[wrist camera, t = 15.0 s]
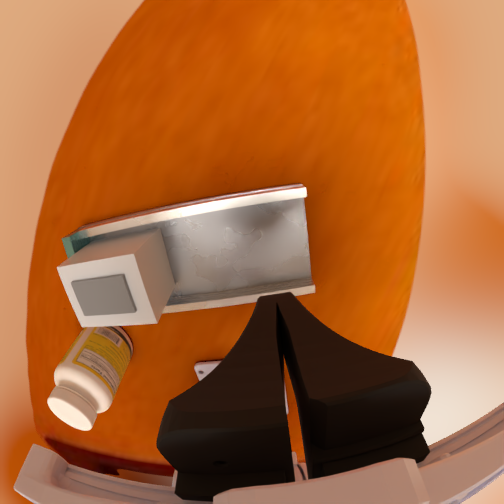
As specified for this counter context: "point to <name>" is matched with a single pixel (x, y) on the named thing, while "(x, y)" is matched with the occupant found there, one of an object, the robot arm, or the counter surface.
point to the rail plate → (223, 245)
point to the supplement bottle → (90, 375)
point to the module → (119, 280)
